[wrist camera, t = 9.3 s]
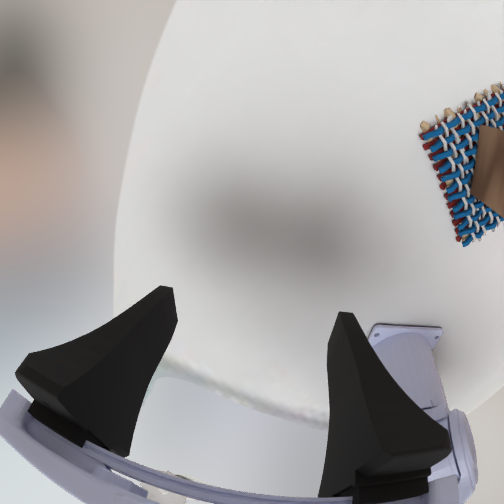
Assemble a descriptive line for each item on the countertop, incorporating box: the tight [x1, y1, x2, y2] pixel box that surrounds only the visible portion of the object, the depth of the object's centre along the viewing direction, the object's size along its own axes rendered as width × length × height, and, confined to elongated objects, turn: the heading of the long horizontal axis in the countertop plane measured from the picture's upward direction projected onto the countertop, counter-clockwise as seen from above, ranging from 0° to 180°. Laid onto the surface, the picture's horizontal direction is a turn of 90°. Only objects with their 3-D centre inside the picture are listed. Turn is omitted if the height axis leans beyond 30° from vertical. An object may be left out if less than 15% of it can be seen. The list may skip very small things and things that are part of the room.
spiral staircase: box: [140, 471, 187, 504], centre depth 70 cm, size 18×18×25 cm
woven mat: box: [420, 82, 504, 247], centre depth 14 cm, size 10×11×2 cm
